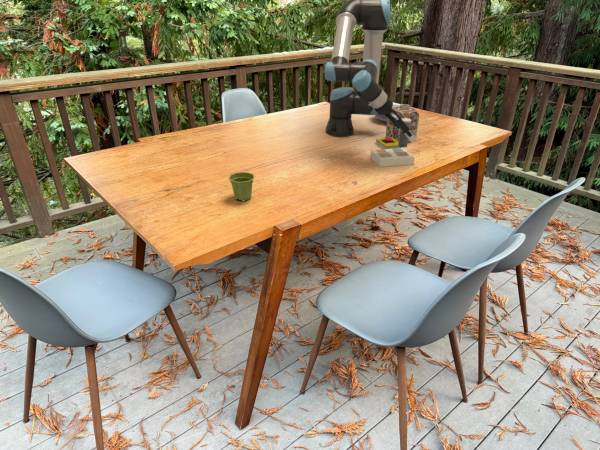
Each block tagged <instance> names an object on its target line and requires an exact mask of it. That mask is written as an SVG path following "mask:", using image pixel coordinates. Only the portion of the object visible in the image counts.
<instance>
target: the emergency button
mask: <svg viewBox="0 0 600 450" xmlns="http://www.w3.org/2000/svg"><path fill="white" fill-rule="evenodd" d="M398 143H399V142H398V141H397V140H395V139H394V138H391V137H390V138H385V137H382V138H381V137H380V138H376V141H375V142H374V145H376V146H377V147H378V148H379V149H394V148H403V147H399V146H398Z"/></svg>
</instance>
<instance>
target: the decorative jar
mask: <svg viewBox="0 0 600 450" xmlns="http://www.w3.org/2000/svg"><path fill="white" fill-rule="evenodd" d="M400 104H401V105H400ZM400 104H399V105H400V107H395V108H393V109H394V110H395V111H396V113H397V114H398V115H399V117H400V118H401V119H402V118H409V119H411V124H410V131H411V132H412V133H413V134H414V136H415V137H416V138H417V133H418V128H419V122H420V121H419V120H420V113H419V112H418V110H416V109H415V108H414V107H411V106H410V104H407V103H406V104H405V103H400ZM399 129H400V128H399ZM399 129H398V128H397V127H396V126H395V125H394V124H393V123H392V122H391V121H390V120H389V119H387V123H386V127H385V136H384V138H390V137H391V138H394V139H395V140H397V141H398V142H399V136H400V130H399ZM409 143H412V142H411V141H410V140H409V139H408V144H409Z"/></svg>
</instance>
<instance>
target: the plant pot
mask: <svg viewBox="0 0 600 450" xmlns="http://www.w3.org/2000/svg"><path fill="white" fill-rule="evenodd" d="M255 177H256V176H255V175H254V174H253V173H252V172H247V171H239V172H234V173H232V174H231V173H230V175H229V176H228V180H229V181H230V184H231V187H232V191H233V194H234V195H233V196H234V199H235V198H236V199H235V200H237V199H239V200H247V199H248V200H251V199H252V190H253V182H254V180H255ZM250 198H251V199H250ZM248 200H247V201H248Z"/></svg>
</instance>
